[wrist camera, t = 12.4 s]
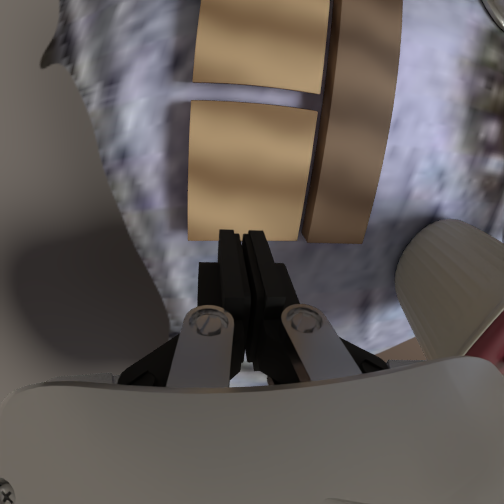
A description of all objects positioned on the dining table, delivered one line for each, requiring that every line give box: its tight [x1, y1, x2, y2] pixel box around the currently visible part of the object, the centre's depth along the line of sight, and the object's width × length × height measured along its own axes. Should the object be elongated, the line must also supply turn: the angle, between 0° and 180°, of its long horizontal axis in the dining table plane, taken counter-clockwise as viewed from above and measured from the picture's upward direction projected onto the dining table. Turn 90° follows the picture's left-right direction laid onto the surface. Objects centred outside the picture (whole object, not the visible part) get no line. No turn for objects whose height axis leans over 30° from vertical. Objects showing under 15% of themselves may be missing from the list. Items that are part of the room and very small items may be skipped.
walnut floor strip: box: [302, 0, 403, 244], centre depth 22 cm, size 26×6×2 cm, turn 175°
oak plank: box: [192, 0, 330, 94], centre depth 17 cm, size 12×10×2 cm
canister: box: [395, 219, 504, 375], centre depth 25 cm, size 18×18×21 cm
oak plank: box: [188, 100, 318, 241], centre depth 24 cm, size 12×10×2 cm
